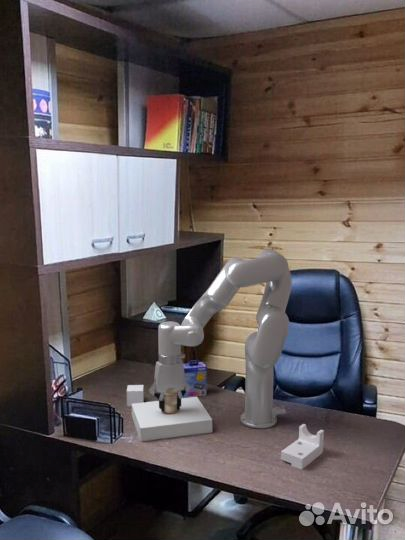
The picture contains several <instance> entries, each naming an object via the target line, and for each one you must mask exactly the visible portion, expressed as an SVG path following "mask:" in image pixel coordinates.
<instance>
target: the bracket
mask: <svg viewBox="0 0 405 540" xmlns="http://www.w3.org/2000/svg"><path fill="white" fill-rule="evenodd" d="M324 432H325V430H323V429H320V430H318V431H317V432H316V434H312V433H311V432H310V431H309V430H308V428H307V425H306V424H305V423H302V424H301V425H299V428H298V438H297V440H295V441H293V442H292V443H291V444H289V445H288V446H286V447H285V448H284V449H282V450H281V451H280V460H282V461H284V462H287V463H290V465H291V467H294V468H296V469H299V470H303V469H305V468H306V467H307V466H308V465H310V464H311V463H312V462H313V461H314V460H316V459H317V458H318V457H319V456H321V455H322V454H323V453H324V437H325V436H324V435H325V434H324Z"/></svg>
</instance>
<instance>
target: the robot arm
mask: <svg viewBox="0 0 405 540" xmlns="http://www.w3.org/2000/svg"><path fill="white" fill-rule="evenodd" d="M263 284H265V287H264V292H263V295H262V297H261V301H260V303H259V307H258V309H257V313H256V316H255V319H256V321H255V322H256V324H257V325H258V331H254V332H252V333H250V334H249V335H248V337H247V338H246V340H245V344H244V358H245V360H244V362H245V381H244V382H245V383H244V385H245V388H244V389H245V390H244V391H245V393H244V400H245V401H244V412H243V413H242V414H241V415H240V422H241V423H242V424H243V425H244V426H246V427H248V428H253V429H268V428H272V427H274V426H275V425H276V424H277V422H278V421H277V420H278V418H277V416H278V415H280V416H283V415H286V414H287V412H286V408H280V407H279V406H278V407H277V406H276V407H273V406H274V405H273V400H274V366H276V365H277V363H278V362H279V359H280V357H281V355H282V352H283V350H284V349H283V348H284V346H285V343H286V340H287V336H288V333H289V329H290V320H289V317H288V315H287V313H286V308H287V305H288V302H289V300H290V299H289V298H290V294H291V291H292V274H291V271H290V268H289V262H288V260H287V258H286V257H285V256H284V255H282V254H281V253H279V252H278V251H277V250H274V249H265V250H263V251H261V252H260V254H258V257H256V258H253V259H247V260H245V259H243V258H241V257H233V258H230V259H229V260H228V261H227V262H226V263H225V264H224V266H223V268H222V269H220V272H219V273H218V274H217V276H216V277H215V279H214V280H213V281H212V283H211V284H210V285H209V287H208V288H207V289H206V291H205V292H204V293H203V294H202V296H201V297H200V298H199V299H198V300H197V301H196V302H195V303H194V305H193V306H192V308H191V309H190V310H189V312H188V313H187V314H186V316H185V317H184V319H183V320H182V322H181V324H180V323H178V322H176V321H172V320H171V321H163V322H161V323H160V324H158V329H157V331H158V339H157V341H158V346H157V347H158V348H157V349H158V361H156V362H155V368H154V378H153V379H154V381H153V384H152V385H151V386H150V388H149V389H148V392H149V394H151V395H152V396H154V397H155V398H156V399H158V401H159V409H161V411H162V412H164V400H163V396H164V392H166V391H167V389H175V388H176V391H177V410H180V407H181V399H182V398H183V396H184V395H185V393H186V392H187V391H188V390H190V389H191V386H190V385H189V384H188V383H187V382H186V380H185V373H184V366H183V364H184V363H183V360H182V359H186V354H185V353H182V351H181V350H182V349H181V348H182V346H185V347H198V346H199V345H200V344H202V343H203V341H204V337H205V334H204V328H205V327H206V325H207V323H208V322H209V321H210V320H211V318H212V317H213V316H214V315H215V314H216V313H217V312H219V311H221V310H223V309H225V308H227V307H228V306H229V304H230V302H231V301H232V300H233V299H234V297H235V296H236V294H237V293H238V292H239V290H240V289H241V288H248V287H253V286H257V285H258V286H259V285H263Z"/></svg>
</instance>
